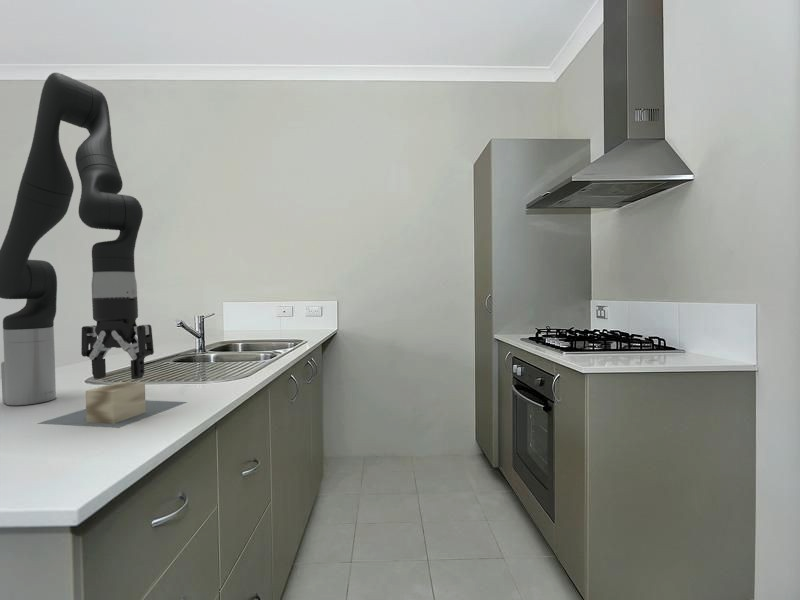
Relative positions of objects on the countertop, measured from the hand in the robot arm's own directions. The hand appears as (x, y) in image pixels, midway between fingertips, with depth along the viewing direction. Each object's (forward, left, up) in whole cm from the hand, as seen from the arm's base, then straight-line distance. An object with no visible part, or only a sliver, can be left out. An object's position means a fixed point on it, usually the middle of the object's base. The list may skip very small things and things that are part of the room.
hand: (118, 378), depth 89 cm
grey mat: (-3, +3, -8) cm, 9 cm away
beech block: (0, 0, -8) cm, 8 cm away
